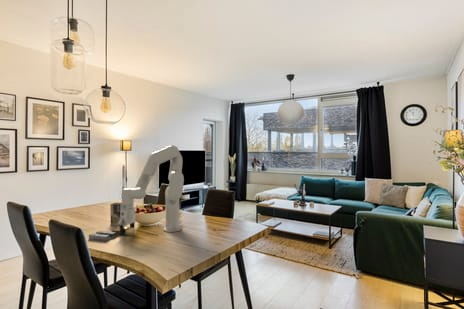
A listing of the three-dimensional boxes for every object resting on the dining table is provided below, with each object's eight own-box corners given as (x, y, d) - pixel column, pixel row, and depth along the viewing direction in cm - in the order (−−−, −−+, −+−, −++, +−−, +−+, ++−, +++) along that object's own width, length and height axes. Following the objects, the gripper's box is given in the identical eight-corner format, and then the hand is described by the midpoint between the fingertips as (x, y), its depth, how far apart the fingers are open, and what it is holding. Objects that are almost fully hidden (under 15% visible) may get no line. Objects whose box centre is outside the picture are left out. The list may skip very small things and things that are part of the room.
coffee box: (126, 223, 198) (126, 202, 198) (120, 226, 192) (120, 204, 192) (116, 222, 201) (116, 202, 200) (110, 225, 194) (110, 203, 194)
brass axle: (120, 231, 177) (119, 225, 176) (135, 233, 174) (134, 226, 173) (115, 235, 173) (114, 228, 172) (130, 237, 169) (130, 229, 168)
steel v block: (99, 235, 171) (99, 230, 171) (116, 236, 168) (116, 232, 168) (88, 239, 162) (88, 234, 162) (105, 241, 159) (105, 236, 159)
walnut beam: (121, 231, 180) (121, 226, 180) (127, 231, 178) (127, 226, 178) (111, 235, 171) (111, 230, 171) (118, 235, 170) (118, 230, 170)
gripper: (123, 209, 163) (123, 236, 163) (140, 204, 180) (140, 228, 180) (113, 208, 165) (113, 235, 165) (131, 203, 182) (130, 227, 182)
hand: (127, 231), depth 173 cm, fingers open, 9 cm apart
